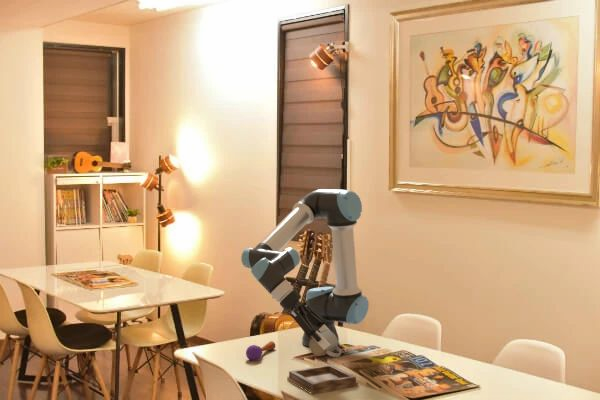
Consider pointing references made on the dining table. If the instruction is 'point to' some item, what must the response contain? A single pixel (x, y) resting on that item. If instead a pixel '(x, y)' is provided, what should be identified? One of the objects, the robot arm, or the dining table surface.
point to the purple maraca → (258, 351)
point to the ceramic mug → (333, 346)
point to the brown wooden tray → (322, 379)
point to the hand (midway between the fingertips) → (330, 343)
